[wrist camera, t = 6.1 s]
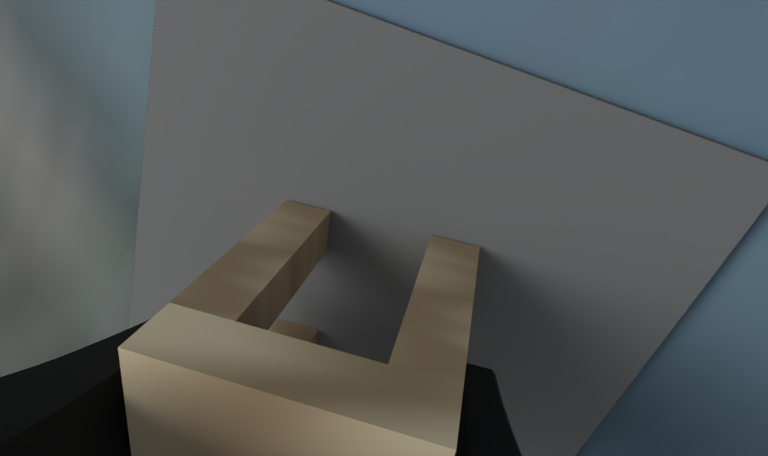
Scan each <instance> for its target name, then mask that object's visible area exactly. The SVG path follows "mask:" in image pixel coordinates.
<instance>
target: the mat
mask: <svg viewBox="0 0 768 456" xmlns="http://www.w3.org/2000/svg"><path fill="white" fill-rule="evenodd" d="M286 200H287V201H291V202H295V203H299V204H304V205H308V206H312V207H316V208H320V209H324V210H328V211H331V213H330V222H329V231H328V240H327V249H326V253H325V254H324V256H323V257H322V258H321V260H320V261H319V262H318V264H317V265H316V266H315V268H314V269H313V270H312V272H311V273H310V274H309V276H308V277H307V279H306V280H305V281H304V283H303V284H302V285H301V287H300V288H299V289H298V291H297V292H296V293H295V295H294V296H293V297H292V299H291V300H290V301H289V303H288V304H287V305H286V307H285V308H284V310H283V311H282V312H281V314H280V315H279V316H278V318H277V319H276V320H275V322H274V323H273V324H272V326H271V327H270V328H269V330H268V331H270V330H271V329H272V327H273V326H274V325H275V323H276V322H277V320H278V319H281V320H284V321H288V322H291V323H295V324H299V325H302V326H306V327H309V328H313V329H317V339H316V344H317V345H321V346H324V347H328V348H331V349H335V350H338V351H342V352H346V353H349V354H353V355H356V356H360V357H363V358H367V359H370V360H374V361H377V362H381V363H384V364H388V363H389V360H390V357H391V354H392V351H393V348H394V345H395V342H396V339H397V336H398V333H399V330H400V327H401V324H402V321H403V318H404V315H405V312H406V309H407V306H408V303H409V300H410V297H411V294H412V291H413V288H414V285H415V282H416V279H417V276H418V273H419V270H420V267H421V265H422V262H423V259H424V256H425V253H426V250H427V247H428V244H429V241H430V238H431V235H432V236H436V237H440V238H444V239H448V240H453V241H457V242H461V243H465V244H469V245H473V246H477V247H480V250H479V258H478V267H477V275H476V284H475V293H474V301H473V310H472V319H471V327H470V336H469V345H468V353H467V362H466V363H469V364H473V365H477V366H481V367H484V368H488V369H492V370H493V372H494V373H495V375H496V379H497V383H498V387H499V391H500V394H501V398H502V401H503V404H504V408H505V411H506V414H507V417H508V420H509V423H510V425H511V428H512V431H513V434H514V436H515V439H516V441H517V444H518V447H519V449H520V452H521V454H522V456H576V455H577V453H578V452H579V451H580V449H581V448H582V447H583V445H584V444H585V443H586V442H587V440H588V439H589V438H590V436H591V435H592V434H593V432H594V431H595V430H596V428H597V427H598V426H599V424H600V423H601V422H602V421H603V419H604V418H605V417H606V415H607V414H608V413H609V411H610V410H611V409H612V407H613V406H614V405H615V404H616V402H617V401H618V400H619V398H620V397H621V396H622V394H623V393H624V392H625V390H626V389H627V388H628V386H629V385H630V384H631V383H632V381H633V380H634V379H635V377H636V376H637V375H638V373H639V372H640V371H641V369H642V368H643V367H644V366H645V364H646V363H647V362H648V360H649V359H650V358H651V356H652V355H653V354H654V352H655V351H656V350H657V348H658V347H659V346H660V345H661V343H662V342H663V341H664V339H665V338H666V337H667V335H668V334H669V333H670V331H671V330H672V329H673V328H674V326H675V325H676V324H677V322H678V321H679V320H680V318H681V317H682V316H683V314H684V313H685V312H686V310H687V309H688V308H689V307H690V305H691V304H692V303H693V301H694V300H695V299H696V297H697V296H698V295H699V293H700V292H701V291H702V290H703V288H704V287H705V286H706V284H707V283H708V282H709V280H710V279H711V278H712V276H713V275H714V274H715V272H716V271H717V270H718V269H719V267H720V266H721V265H722V263H723V262H724V261H725V259H726V258H727V257H728V255H729V254H730V253H731V251H732V250H733V249H734V248H735V246H736V245H737V244H738V242H739V241H740V240H741V238H742V237H743V236H744V234H745V233H746V232H747V231H748V229H749V228H750V227H751V225H752V224H753V223H754V221H755V220H756V219H757V217H758V216H759V215H760V213H761V212H762V211H763V210H764V208H765V207H766V206H767V204H768V160H766V159H763V158H760V157H757V156H755V155H752V154H749V153H747V152H744V151H741V150H738V149H736V148H733V147H730V146H727V145H725V144H722V143H719V142H716V141H714V140H711V139H708V138H706V137H703V136H700V135H697V134H695V133H692V132H689V131H686V130H684V129H681V128H678V127H675V126H673V125H670V124H667V123H665V122H662V121H659V120H656V119H654V118H651V117H648V116H645V115H643V114H640V113H637V112H634V111H632V110H629V109H626V108H624V107H621V106H618V105H615V104H613V103H610V102H607V101H604V100H602V99H599V98H596V97H593V96H591V95H588V94H585V93H583V92H580V91H577V90H574V89H572V88H569V87H566V86H563V85H561V84H558V83H555V82H552V81H550V80H547V79H544V78H542V77H539V76H536V75H533V74H531V73H528V72H525V71H522V70H520V69H517V68H514V67H511V66H509V65H506V64H503V63H501V62H498V61H495V60H492V59H490V58H487V57H484V56H481V55H479V54H476V53H473V52H470V51H468V50H465V49H462V48H460V47H457V46H454V45H451V44H449V43H446V42H443V41H440V40H438V39H435V38H432V37H429V36H427V35H424V34H421V33H419V32H416V31H413V30H410V29H408V28H405V27H402V26H399V25H397V24H394V23H391V22H388V21H386V20H383V19H380V18H378V17H375V16H372V15H369V14H367V13H364V12H361V11H358V10H356V9H353V8H350V7H347V6H345V5H342V4H339V3H337V2H334V1H331V0H156V10H155V22H154V34H153V46H152V57H151V69H150V81H149V93H148V105H147V116H146V128H145V140H144V152H143V163H142V175H141V187H140V199H139V211H138V222H137V234H136V246H135V258H134V269H133V281H132V293H131V305H130V317H129V328H132V327H134V326H136V325H138V324H140V323H143V322H145V321H147V320H149V319H151V318H152V317H153V316H154V315H156V314H157V313H158V312H159V311H160V310H161V309H162V308H164V307H165V306H166V305H167V304H168V303H169V302H170V301H172V300H173V299H174V298H175V297H176V296H177V295H178V294H180V293H181V292H182V291H183V290H184V289H185V288H186V287H188V286H189V285H190V284H191V283H192V282H193V281H194V280H196V279H197V278H198V277H199V276H200V275H201V274H203V273H204V272H205V271H206V270H207V269H208V268H209V267H211V266H212V265H213V264H214V263H215V262H216V261H217V260H219V259H220V258H221V257H222V256H223V255H224V254H225V253H227V252H228V251H229V250H230V249H231V248H232V247H233V246H235V245H236V244H237V243H238V242H239V241H240V240H241V239H243V238H244V237H245V236H246V235H247V234H248V233H249V232H251V231H252V230H253V229H254V228H255V227H256V226H258V225H259V224H260V223H261V222H262V221H263V220H264V219H266V218H267V217H268V216H269V215H270V214H271V213H272V212H274V211H275V210H276V209H277V208H278V207H279V206H280V205H282V204H283V203H284V202H285V201H286ZM129 328H128V329H129Z"/></svg>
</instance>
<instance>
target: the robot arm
mask: <svg viewBox="0 0 768 456" xmlns="http://www.w3.org/2000/svg"><path fill="white" fill-rule="evenodd" d="M149 320H150V319H149ZM149 320H147V321H145V322H143V323H140V324H138V325H136V326H134V327H132V328H129V329H127V330H125V331H123V332H120V333H118V334H116V335H113V336H111V337H108V338H106V339H104V340H101V341H99V342H96V343H94V344H91V345H89V346H87V347H84V348H82V349H79V350H77V351H74V352H72V353H69V354H67V355H64V356H62V357H59V358H56V359H54V360H51V361H48V362H45V363H42V364H40V365H37V366H34V367H31V368H28V369H25V370H22V371H19V372H16V373H13V374H10V375H6V376H3V377H0V456H131V448H130V440H129V432H128V424H127V416H126V409H125V401H124V393H123V385H122V377H121V369H120V361H119V353H118V347H119V346H120V345H121V344H122V343H123V342H125V341H126V340H127V339H128V338H129V337H130V336H131V335H133V334H134V333H135V332H136V331H137V330H138V329H139V328H141V327H142V326H143V325H144V324H145V323H146V322H148V321H149ZM455 456H522V454H521V452H520V449H519V447H518V444H517V441H516V439H515V436H514V434H513V431H512V428H511V425H510V423H509V420H508V417H507V414H506V411H505V408H504V404H503V401H502V398H501V394H500V391H499V387H498V383H497V379H496V375H495V373H494V372H493V370H492V369H488V368H484V367H481V366H477V365H473V364H469V363H466V371H465V379H464V388H463V397H462V405H461V414H460V423H459V431H458V440H457V449H456V453H455Z"/></svg>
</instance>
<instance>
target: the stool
mask: <svg viewBox="0 0 768 456" xmlns="http://www.w3.org/2000/svg"><path fill="white" fill-rule="evenodd" d="M330 213H331V211H328V210H324V209H320V208H316V207H312V206H308V205H304V204H299V203H295V202H291V201H287V200H286V201H285V202H284V203H283V204H282V205H280V206H279V207H278V208H277V209H276V210H275V211H274V212H272V213H271V214H270V215H269V216H268V217H267V218H266V219H264V220H263V221H262V222H261V223H260V224H259V225H258V226H256V227H255V228H254V229H253V230H252V231H251V232H249V233H248V234H247V235H246V236H245V237H244V238H243V239H241V240H240V241H239V242H238V243H237V244H236V245H235V246H233V247H232V248H231V249H230V250H229V251H228V252H227V253H225V254H224V255H223V256H222V257H221V258H220V259H219V260H217V261H216V262H215V263H214V264H213V265H212V266H211V267H209V268H208V269H207V270H206V271H205V272H204V273H203V274H201V275H200V276H199V277H198V278H197V279H196V280H194V281H193V282H192V283H191V284H190V285H189V286H188V287H186V288H185V289H184V290H183V291H182V292H181V293H180V294H178V295H177V296H176V297H175V298H174V299H173V300H172V301H170V302H169V303H168V304H167V305H166V306H165V307H164V308H162V309H161V310H160V311H159V312H158V313H157V314H156V315H154V316H153V317H152V318H151V319H150V320H149V321H148V322H146V323H145V324H144V325H143V326H142V327H141V328H139V329H138V330H137V331H136V332H135V333H134V334H133V335H131V336H130V337H129V338H128V339H127V340H126V341H125V342H123V343H122V344H121V345H120V346H119V347H118V353H119V361H120V369H121V377H122V385H123V393H124V401H125V409H126V416H127V424H128V432H129V440H130V448H131V456H455V453H456V449H457V440H458V431H459V423H460V414H461V405H462V397H463V388H464V379H465V371H466V362H467V353H468V345H469V336H470V327H471V319H472V310H473V301H474V293H475V284H476V275H477V267H478V258H479V250H480V247H477V246H473V245H469V244H465V243H461V242H457V241H453V240H448V239H444V238H440V237H436V236H432V235H431V238H430V241H429V244H428V247H427V250H426V253H425V256H424V259H423V262H422V265H421V267H420V270H419V273H418V276H417V279H416V282H415V285H414V288H413V291H412V294H411V297H410V300H409V303H408V306H407V309H406V312H405V315H404V318H403V321H402V324H401V327H400V330H399V333H398V336H397V339H396V342H395V345H394V348H393V351H392V354H391V357H390V360H389V363H388V364H384V363H381V362H377V361H374V360H370V359H367V358H363V357H360V356H356V355H353V354H349V353H346V352H342V351H338V350H335V349H331V348H328V347H324V346H321V345H317V344H316V339H317V329H313V328H309V327H306V326H302V325H299V324H295V323H291V322H288V321H284V320H281V319H278V320H277V322H276V323H275V325H274V326H273V327H272V329H271V330H270V331H268V330H269V328H270V327H271V326H272V324H273V323H274V322H275V320H276V319H277V318H278V316H279V315H280V314H281V312H282V311H283V310H284V308H285V307H286V305H287V304H288V303H289V301H290V300H291V299H292V297H293V296H294V295H295V293H296V292H297V291H298V289H299V288H300V287H301V285H302V284H303V283H304V281H305V280H306V279H307V277H308V276H309V274H310V273H311V272H312V270H313V269H314V268H315V266H316V265H317V264H318V262H319V261H320V260H321V258H322V257H323V256H324V254H325V253H326V249H327V240H328V231H329V222H330Z"/></svg>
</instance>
